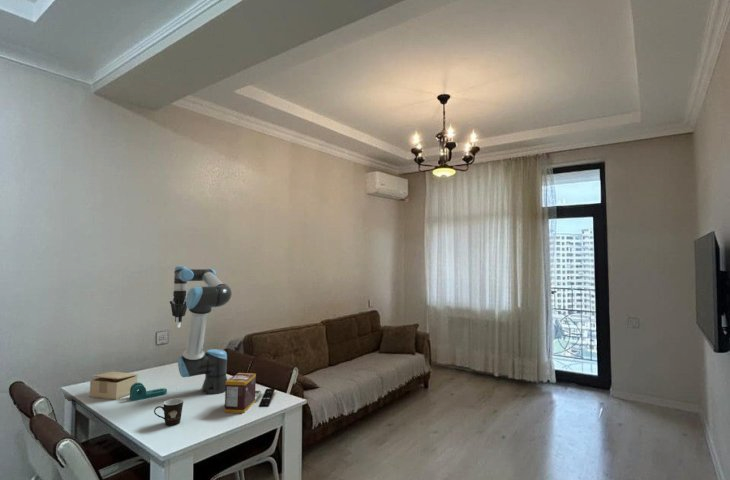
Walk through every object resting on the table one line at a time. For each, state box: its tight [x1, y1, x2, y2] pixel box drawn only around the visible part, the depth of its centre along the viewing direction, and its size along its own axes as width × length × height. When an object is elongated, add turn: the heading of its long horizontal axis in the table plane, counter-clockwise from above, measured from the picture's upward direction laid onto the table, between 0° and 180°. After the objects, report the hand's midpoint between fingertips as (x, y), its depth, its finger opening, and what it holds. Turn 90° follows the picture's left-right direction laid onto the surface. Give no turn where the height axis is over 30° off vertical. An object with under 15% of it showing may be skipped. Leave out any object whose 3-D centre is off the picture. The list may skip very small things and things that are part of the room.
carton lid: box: [90, 371, 139, 379], centre depth 220 cm, size 14×18×1 cm
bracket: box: [129, 382, 168, 402], centre depth 217 cm, size 18×7×8 cm, turn 129°
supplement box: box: [224, 372, 257, 414], centre depth 203 cm, size 10×15×16 cm
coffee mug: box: [153, 398, 184, 427], centre depth 182 cm, size 12×9×10 cm
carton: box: [89, 375, 138, 401], centre depth 219 cm, size 14×18×9 cm
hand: (178, 327), depth 247 cm, fingers closed
